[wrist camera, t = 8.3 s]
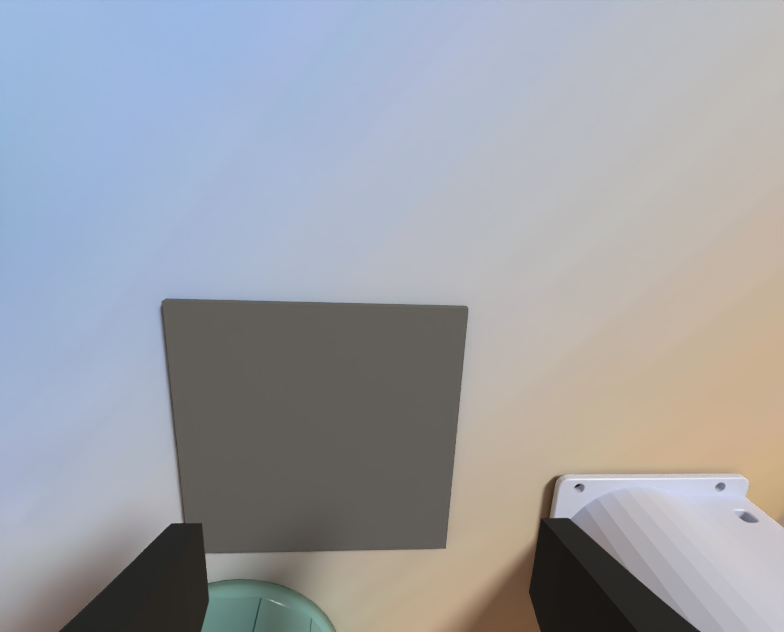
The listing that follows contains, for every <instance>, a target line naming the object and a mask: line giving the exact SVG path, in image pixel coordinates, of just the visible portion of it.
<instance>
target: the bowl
mask: <svg viewBox="0 0 784 632" xmlns="http://www.w3.org/2000/svg"><path fill="white" fill-rule="evenodd" d="M208 592H209V604H208V608H207V611H206V615H205V619H204V623H203V626H202V630H201V632H336V630H335V628H334V626H333V624H332V623H331V621H330V620H329V618H328V617H327V615H326V614H325V613H324V612H323V611H322V610H321V609H320V608H319V607H318V606H317V605H316V604H314V603H313V602H312V601H311V600H309V599H308V598H306V597H305V596H303V595H301V594H299V593H297V592H295V591H293V590H291V589H289V588H286V587H283V586H280V585H277V584H273V583H269V582H264V581H256V580H238V579H237V580H224V581H218V582H213V583H208Z"/></svg>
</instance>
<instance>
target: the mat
mask: <svg viewBox="0 0 784 632" xmlns="http://www.w3.org/2000/svg"><path fill="white" fill-rule="evenodd" d="M162 308H163V317H164V327H165V336H166V346H167V355H168V365H169V374H170V384H171V393H172V403H173V412H174V422H175V431H176V440H177V450H178V459H179V469H180V478H181V488H182V497H183V507H184V516H185V523H202V528H203V538H204V549H205V553H242V552H293V551H344V550H395V549H446V539H447V529H448V518H449V508H450V497H451V487H452V476H453V466H454V455H455V444H456V434H457V423H458V413H459V402H460V392H461V381H462V371H463V360H464V350H465V339H466V329H467V318H468V307H467V306H447V305H406V304H364V303H323V302H281V301H240V300H198V299H165V300H163V301H162Z"/></svg>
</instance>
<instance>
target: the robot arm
mask: <svg viewBox="0 0 784 632" xmlns="http://www.w3.org/2000/svg"><path fill="white" fill-rule="evenodd" d="M577 484H580V485H579V486H578V487H575V486H576V485H577ZM574 487H575V488H574ZM748 487H749V482H748V480H747V479H746V478H745V477H743V476H742V475H741V474H737V473H734V474H578V475H563V476H561V477H559V478H558V479H557V481H556V483H555V489H554V495H553V500H552V506H551V512H550V518H541V523H540V529H539V535H538V541H537V547H536V553H535V560H534V566H533V572H532V578H531V584H530V590H529V593H530V597H531V600H532V604H533V607H534V611H535V614H536V617H537V621H538V624H539V627H540V630H541V632H784V528H783V527H782V526H780V525H779V524H778V523H777V522H776V521H774V520H773V519H772V518H771V517H769V516H768V515H767V514H766V513H764V512H763V511H762V510H761V509H759V508H758V507H757V506H756V505H755V504H753V503H752V502H751V501H750V500H748V499H747V498H746V493H747V490H748ZM208 604H209V592H208V582H207V571H206V560H205V549H204V538H203V528H202V523H174V524H171V525H169V526H168V527H167V528H166V529H165V530H164V531H163V532H162V533H161V534H160V535H159V536H158V537H157V538H156V539H155V540H154V541H153V542H152V543H151V544H150V545H149V546H148V547H147V548H146V549H145V550H144V551H143V552H142V553H141V554H140V555H139V556H138V557H137V558H136V559H135V560H134V561H133V562H132V563H131V564H130V565H129V566H128V567H127V568H125V569H124V570H123V571H122V572H121V573H120V574H119V575H118V576H117V577H116V578H115V579H114V580H113V581H112V582H111V583H110V584H109V585H108V586H107V587H106V588H105V589H104V590H103V591H102V592H101V593H100V594H99V595H98V596H97V597H95V598H94V599H93V600H92V601H91V602H90V603H89V604H88V605H87V606H86V607H85V608H84V609H83V610H82V611H81V612H80V613H79V614H78V615H77V616H75V617H74V618H73V619H72V620H71V621H70V622H69V623H68V624H67V625H66V626H65V627H64V628H62V629H61V630H60V631H59V632H201V630H202V626H203V623H204V619H205V615H206V611H207V608H208Z"/></svg>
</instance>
